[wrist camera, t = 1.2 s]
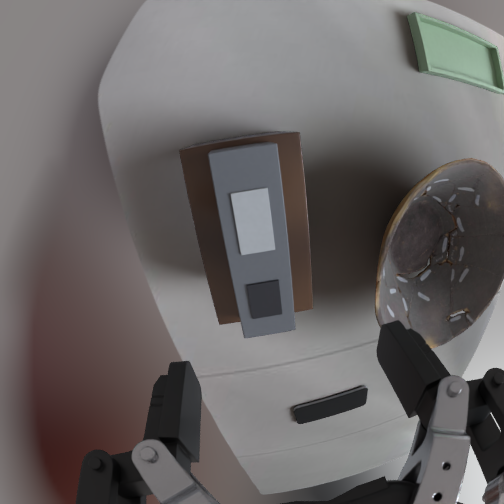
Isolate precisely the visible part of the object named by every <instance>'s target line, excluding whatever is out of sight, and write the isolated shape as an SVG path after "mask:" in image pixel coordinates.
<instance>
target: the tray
mask: <svg viewBox="0 0 504 504" xmlns="http://www.w3.org/2000/svg"><path fill="white" fill-rule="evenodd" d="M407 19H408V22H409V26H410V30H411V34H412V38H413V42H414V46H415V51H416V56H417V61H418V66H419V72H421V73H426V74H431V75H436V76H440V77H444V78H449V79H452V80H456V81H460V82H464V83H467V84H470V85H474V86H477V87H480V88H483V89H486V90H489V91H492V92H495V93H497V94H504V77H503V71H502V66H501V61H500V56H499V52H498V48H497V46H495V45H493V44H491V43H489V42H487V41H486V40H484V39H482V38H480V37H477V36H475V35H473V34H471V33H469V32H467V31H464V30H462V29H460V28H457V27H455V26H453V25H450V24H448V23H445V22H442V21H440V20H437V19H434V18H431V17H428V16H425V15H422V14H419V13H416V12H414V13H412V14H410V15H408V16H407Z"/></svg>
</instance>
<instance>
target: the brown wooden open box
mask: <svg viewBox="0 0 504 504" xmlns="http://www.w3.org/2000/svg"><path fill="white" fill-rule="evenodd" d="M263 142H273V143H277V147H278V155H279V163H280V171H281V179H282V187H283V196H284V205H285V214H286V224H287V233H288V243H289V254H290V265H291V276H292V288H293V301H294V312H300V311H305V310H310V309H313V300H312V273H311V253H310V237H309V222H308V209H307V197H306V186H305V176H304V166H303V157H302V148H301V140H300V133H299V132H270V133H262V134H254V135H247V136H240V137H234V138H228V139H222V140H216V141H211V142H205V143H200V144H195V145H192V146H189V147H187V148H184V149H181V150H179V153H180V158H181V163H182V168H183V173H184V178H185V183H186V188H187V193H188V198H189V203H190V207H191V212H192V216H193V221H194V225H195V230H196V234H197V238H198V243H199V247H200V251H201V255H202V260H203V264H204V268H205V272H206V276H207V280H208V284H209V288H210V291H211V295H212V299H213V303H214V307H215V310H216V314H217V318H218V321H219V324H220V325H221V324H228V323H235V322H241V321H240V316H239V312H238V307H237V302H236V298H235V293H234V288H233V283H232V278H231V274H230V269H229V264H228V259H227V254H226V249H225V244H224V239H223V234H222V229H221V223H220V218H219V213H218V208H217V202H216V197H215V192H214V186H213V181H212V175H211V170H210V164H209V158H208V154H209V152H210V151H212V150H217V149H223V148H229V147H235V146H241V145H248V144H255V143H263Z"/></svg>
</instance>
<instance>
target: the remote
mask: <svg viewBox="0 0 504 504" xmlns="http://www.w3.org/2000/svg"><path fill="white" fill-rule="evenodd" d="M208 158H209V164H210V170H211V175H212V181H213V186H214V192H215V197H216V202H217V208H218V213H219V218H220V223H221V229H222V234H223V239H224V244H225V249H226V254H227V259H228V264H229V269H230V274H231V278H232V283H233V288H234V293H235V298H236V302H237V307H238V312H239V316H240V321H241V325H242V330H243V334H244V338H251V337H257V336H263V335H269V334H275V333H280V332H286V331H291V330H295V315H294V301H293V288H292V276H291V265H290V254H289V243H288V233H287V224H286V214H285V205H284V196H283V187H282V179H281V171H280V163H279V155H278V147H277V143H273V142H263V143H255V144H248V145H241V146H235V147H229V148H223V149H217V150H212V151H210V152H209V154H208Z"/></svg>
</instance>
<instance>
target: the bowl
mask: <svg viewBox="0 0 504 504" xmlns="http://www.w3.org/2000/svg"><path fill="white" fill-rule="evenodd" d="M424 192H426V193H424ZM456 227H457V228H456ZM447 252H448V257H447ZM429 258H430V265H429V266H427V267H426V265H427V262H428V259H429ZM424 267H426V268H425V270H424V271H422V272H421V273H419V274H418V275H417V276H416V277H414V278H404V277H401V276H399V275H400V274H410V273H411V272H416V271H419V270H421V269H422V268H424ZM503 279H504V179H503V177H502V176H501V175H500V174H499V173H498V172H497V171H496V170H495V169H494V168H493V167H492V166H491V165H489V164H488V163H487V162H484V161H481V160H477V159H473V158H469V159H462V160H457V161H453V162H450V163H447V164H445V165H443V166H441V167H439V168H437V169H436V170H434V171H432V172H431V173H430V174H428V175H427V176H426V177H424V178H423V179H422V180H421V181H420V182H418V183H417V184H416V185H415V186H414V187H413V188H412V189H411V190H410V191H409V192H408V194H407V195H406V196H405V197H404V199H403V200H402V201H401V203H400V204H399V205H398V207H397V209H396V210H395V212H394V213H393V215H392V217H391V219H390V221H389V223H388V225H387V227H386V230H385V233H384V236H383V239H382V244H381V250H380V255H379V261H378V267H377V278H376V297H375V313H376V318H377V321H378V324H379V326H380V328H381V326H382V325H383V324H386V323H390V322H393V321H396V320H399V321H401V322H402V324H403V325H404V326H405V328H406V329H410V328H411V329H413V330H414V331H416V332H418V333H419V334H420V335H421V336H422V337H423V338H424V340H425V341H426V343H427V344H428V345H429V346H430V348H431V349H432V348H435V347H438V346H441V345H443V344H445V343H447V342H449V341H450V340H452V339H453V338H455V337H456V336H458V335H460V334H461V333H462V332H464V331H465V330H466V329H468V328H469V326H471V325H472V324H473V323H474V322H475V321H476V320H477V319H478V318H479V317H480V316H481V315H482V313H483V312H484V311H485V310H486V309H487V307H488V306H489V305H490V303H491V301H492V300H493V298H494V297H495V295H496V294H497V292H498V290H499V289H500V286H501V284H502V281H503ZM462 310H463V311H465V313H461V314H458V315H456V316H454V317H451V316H450V315H451V314H454V313H457V312H459V311H462Z"/></svg>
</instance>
